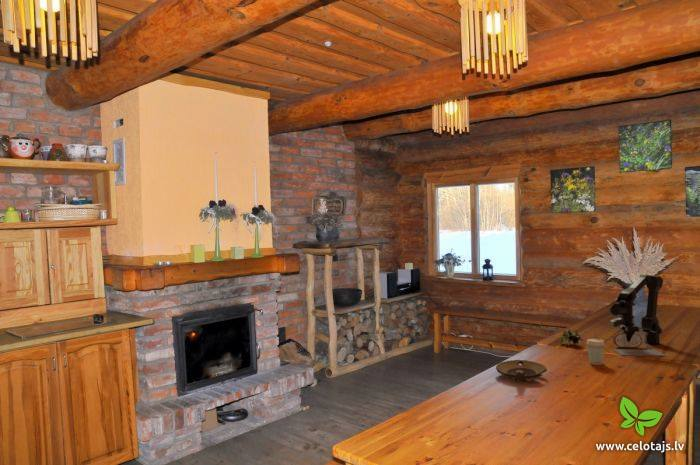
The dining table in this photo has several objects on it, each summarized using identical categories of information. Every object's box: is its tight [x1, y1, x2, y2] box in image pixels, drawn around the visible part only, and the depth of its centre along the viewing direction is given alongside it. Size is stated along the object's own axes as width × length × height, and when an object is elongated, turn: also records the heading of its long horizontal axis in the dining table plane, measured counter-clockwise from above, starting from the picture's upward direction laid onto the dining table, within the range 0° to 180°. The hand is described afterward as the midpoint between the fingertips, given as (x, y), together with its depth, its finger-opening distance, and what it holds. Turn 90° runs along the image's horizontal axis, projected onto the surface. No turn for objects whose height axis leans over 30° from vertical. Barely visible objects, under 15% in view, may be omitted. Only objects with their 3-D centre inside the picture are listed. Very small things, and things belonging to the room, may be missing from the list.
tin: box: [612, 331, 643, 349], centre depth 296 cm, size 15×3×8 cm, turn 82°
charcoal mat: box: [612, 348, 666, 357], centre depth 283 cm, size 22×12×1 cm, turn 82°
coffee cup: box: [586, 338, 606, 366], centre depth 264 cm, size 8×8×12 cm
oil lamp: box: [495, 359, 548, 383], centre depth 242 cm, size 22×30×8 cm
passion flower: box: [557, 328, 585, 346], centre depth 304 cm, size 11×11×12 cm
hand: (627, 341), depth 296 cm, fingers open, 2 cm apart
